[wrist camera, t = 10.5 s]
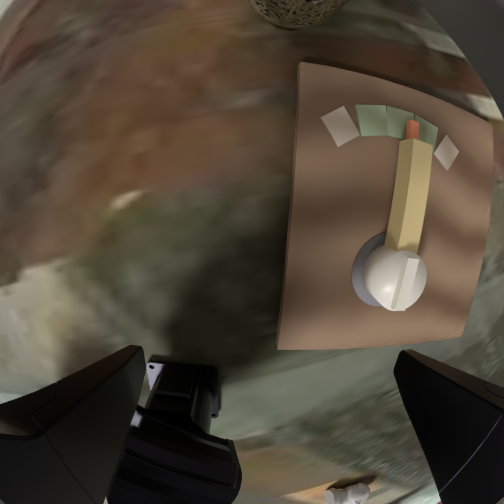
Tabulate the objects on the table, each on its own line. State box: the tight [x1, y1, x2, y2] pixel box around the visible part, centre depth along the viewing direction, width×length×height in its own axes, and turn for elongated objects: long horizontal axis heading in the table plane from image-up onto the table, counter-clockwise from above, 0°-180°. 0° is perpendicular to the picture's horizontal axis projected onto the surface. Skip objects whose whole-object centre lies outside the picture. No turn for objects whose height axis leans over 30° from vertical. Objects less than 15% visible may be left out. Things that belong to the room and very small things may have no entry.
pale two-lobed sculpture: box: [324, 483, 370, 504], centre depth 29 cm, size 4×8×5 cm
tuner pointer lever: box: [362, 120, 433, 311], centre depth 18 cm, size 14×4×3 cm, turn 172°
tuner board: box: [276, 62, 493, 350], centre depth 20 cm, size 22×20×1 cm
